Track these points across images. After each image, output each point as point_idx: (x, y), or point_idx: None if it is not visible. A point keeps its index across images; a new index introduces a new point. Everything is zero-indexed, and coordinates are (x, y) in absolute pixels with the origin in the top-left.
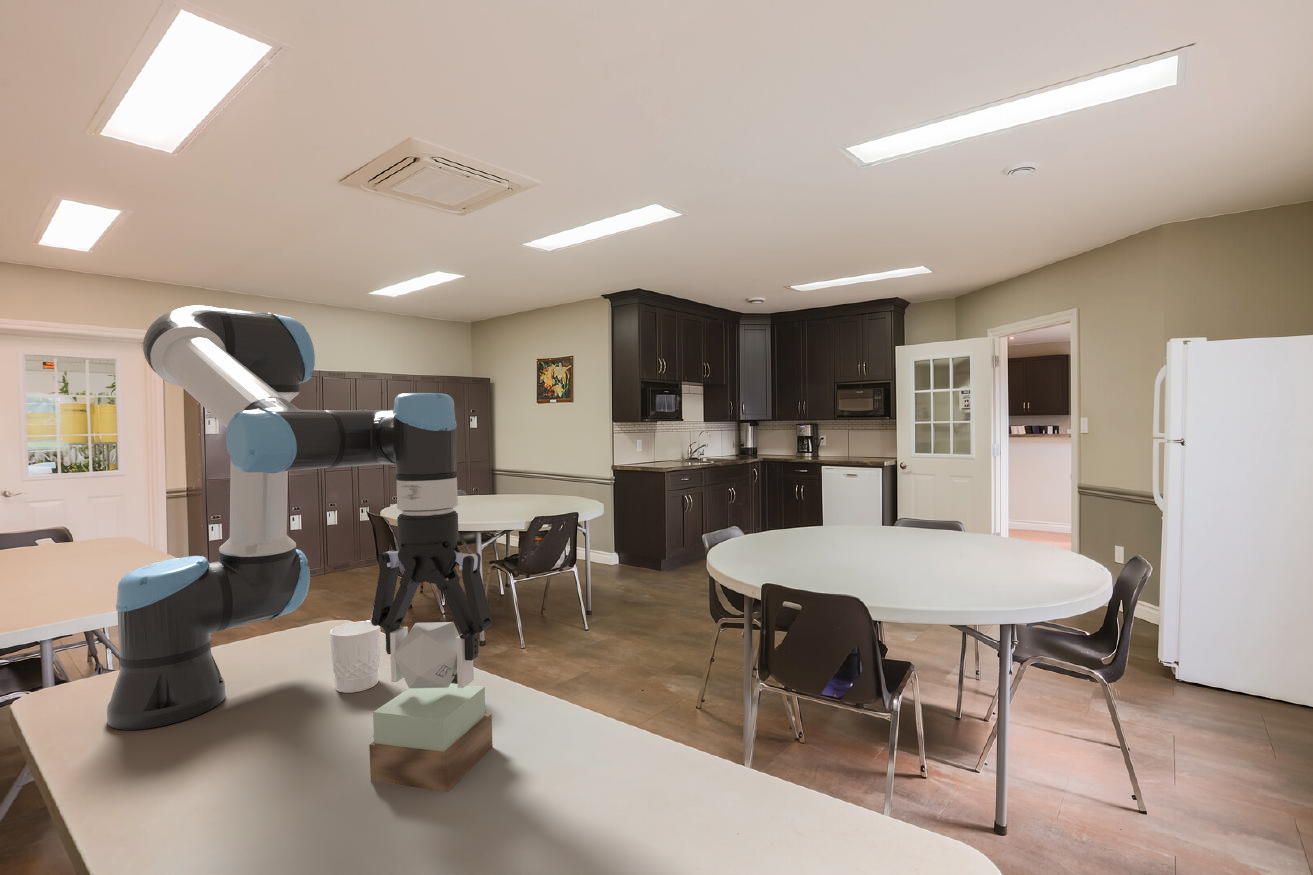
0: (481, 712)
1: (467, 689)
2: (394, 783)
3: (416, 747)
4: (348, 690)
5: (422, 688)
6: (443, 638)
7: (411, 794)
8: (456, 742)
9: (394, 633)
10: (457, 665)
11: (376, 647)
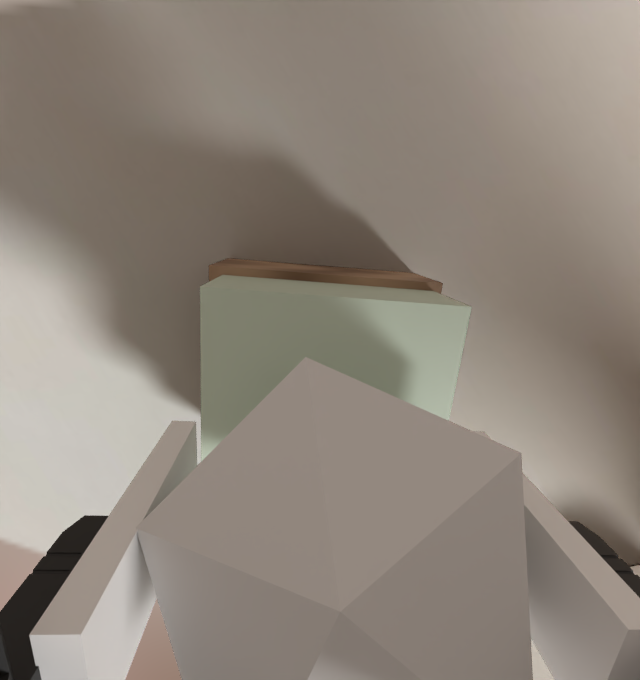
0: None
1: None
2: (355, 268)
3: (306, 281)
4: (634, 570)
5: None
6: (217, 621)
7: (298, 237)
8: None
9: (630, 626)
10: (162, 479)
11: None
